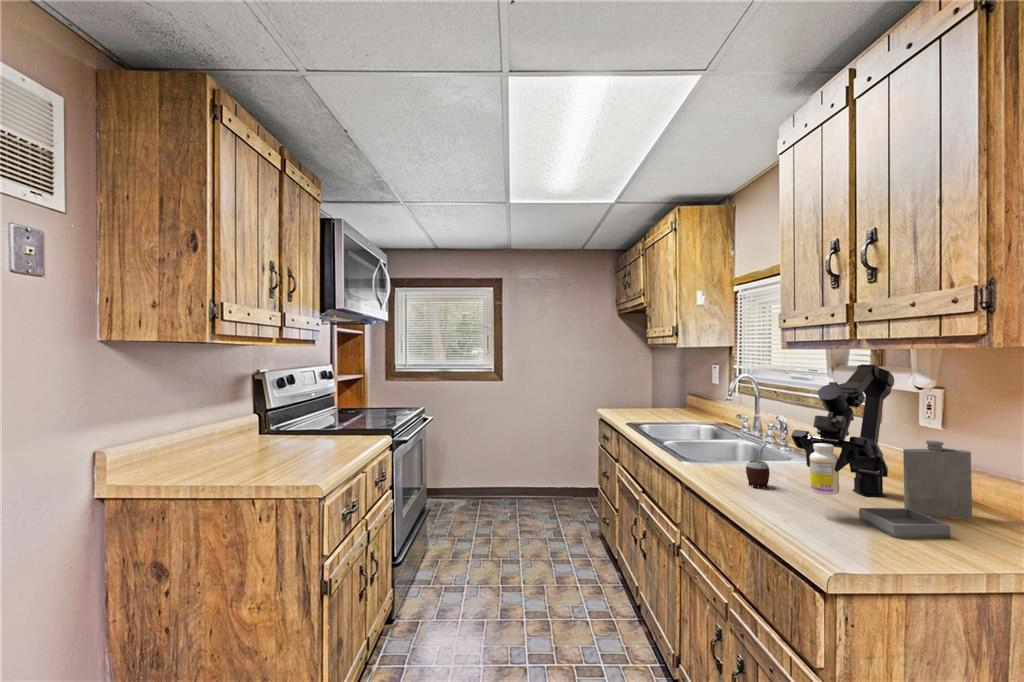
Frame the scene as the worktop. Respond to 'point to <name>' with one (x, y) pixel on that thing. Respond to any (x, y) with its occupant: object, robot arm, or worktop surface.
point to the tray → (904, 523)
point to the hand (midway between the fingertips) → (821, 468)
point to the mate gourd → (758, 472)
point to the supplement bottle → (824, 470)
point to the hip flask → (938, 481)
